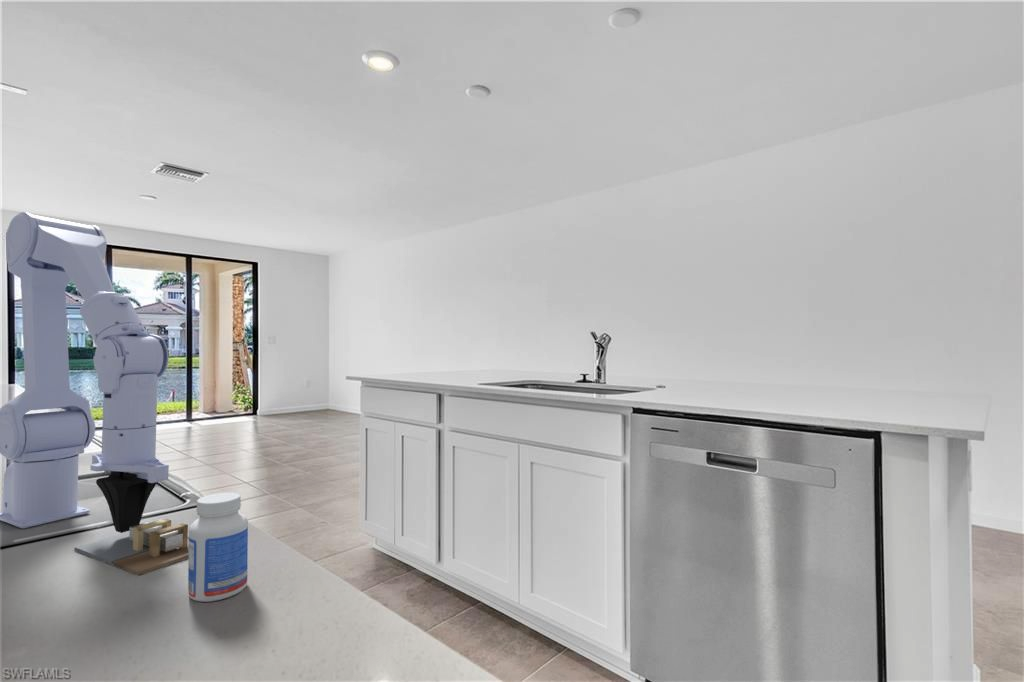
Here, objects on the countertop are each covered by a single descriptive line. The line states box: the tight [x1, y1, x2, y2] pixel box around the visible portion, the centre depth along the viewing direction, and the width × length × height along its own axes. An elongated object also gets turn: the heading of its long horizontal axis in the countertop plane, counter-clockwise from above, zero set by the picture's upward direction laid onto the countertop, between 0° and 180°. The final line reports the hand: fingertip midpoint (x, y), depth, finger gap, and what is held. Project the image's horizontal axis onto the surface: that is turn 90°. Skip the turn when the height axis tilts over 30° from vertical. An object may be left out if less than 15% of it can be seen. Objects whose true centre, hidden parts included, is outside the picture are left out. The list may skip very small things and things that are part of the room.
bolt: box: [129, 522, 183, 552], centre depth 64 cm, size 8×2×2 cm, turn 63°
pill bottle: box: [187, 492, 249, 603], centre depth 54 cm, size 6×5×10 cm
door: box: [73, 518, 189, 565], centre depth 66 cm, size 9×10×3 cm
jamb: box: [112, 522, 189, 576], centre depth 63 cm, size 5×10×3 cm, turn 153°
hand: (127, 529), depth 67 cm, fingers closed
